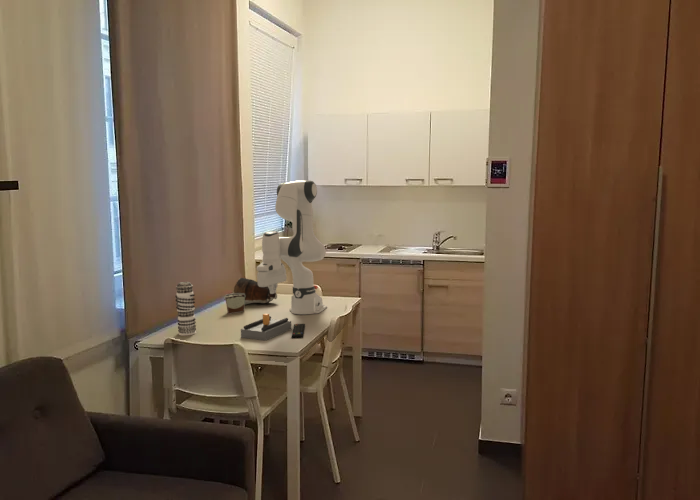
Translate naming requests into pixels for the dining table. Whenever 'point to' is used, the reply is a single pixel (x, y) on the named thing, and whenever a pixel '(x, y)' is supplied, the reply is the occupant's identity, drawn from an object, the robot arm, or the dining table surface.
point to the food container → (235, 302)
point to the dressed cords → (266, 326)
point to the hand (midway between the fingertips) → (273, 293)
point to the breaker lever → (266, 319)
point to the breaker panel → (258, 334)
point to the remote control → (298, 331)
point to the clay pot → (253, 291)
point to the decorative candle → (185, 308)
